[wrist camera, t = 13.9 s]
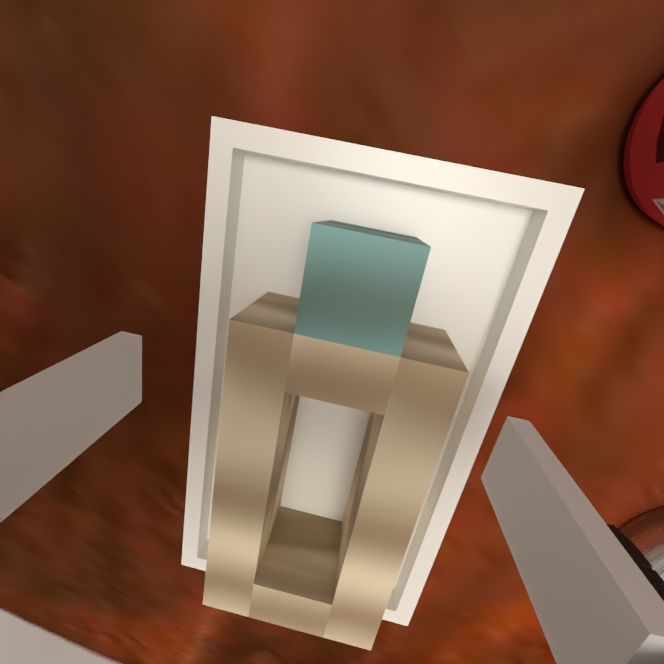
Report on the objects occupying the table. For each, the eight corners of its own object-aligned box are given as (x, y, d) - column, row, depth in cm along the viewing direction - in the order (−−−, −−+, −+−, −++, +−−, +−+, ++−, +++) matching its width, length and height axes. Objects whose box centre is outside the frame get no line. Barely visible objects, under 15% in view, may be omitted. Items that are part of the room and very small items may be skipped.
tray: (197, 535, 25) (181, 564, 23) (232, 128, 16) (211, 115, 14) (405, 590, 24) (407, 626, 22) (557, 192, 16) (584, 188, 14)
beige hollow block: (279, 209, 17) (239, 208, 12) (470, 248, 16) (508, 262, 11) (238, 525, 23) (202, 604, 19) (372, 560, 23) (370, 650, 18)
